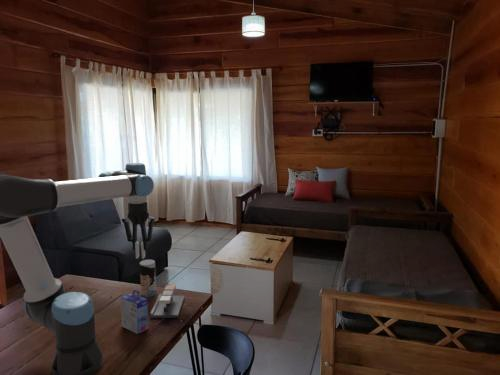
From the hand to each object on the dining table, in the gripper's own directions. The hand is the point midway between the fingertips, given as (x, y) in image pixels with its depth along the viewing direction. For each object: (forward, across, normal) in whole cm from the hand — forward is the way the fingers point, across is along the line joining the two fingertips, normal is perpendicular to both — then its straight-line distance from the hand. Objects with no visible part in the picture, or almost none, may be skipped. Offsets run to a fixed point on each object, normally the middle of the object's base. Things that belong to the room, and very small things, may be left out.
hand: (140, 257), depth 157 cm
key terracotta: (+17, -10, -5) cm, 21 cm away
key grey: (+17, -11, 0) cm, 20 cm away
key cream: (+17, -10, +5) cm, 21 cm away
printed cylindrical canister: (+23, +1, -14) cm, 26 cm away
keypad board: (+22, -10, 0) cm, 25 cm away
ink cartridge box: (+23, -1, +16) cm, 28 cm away
